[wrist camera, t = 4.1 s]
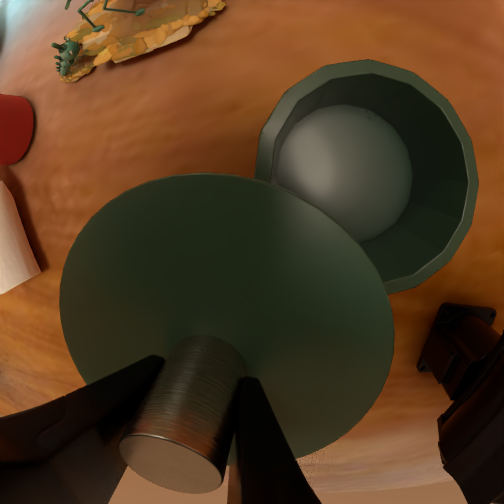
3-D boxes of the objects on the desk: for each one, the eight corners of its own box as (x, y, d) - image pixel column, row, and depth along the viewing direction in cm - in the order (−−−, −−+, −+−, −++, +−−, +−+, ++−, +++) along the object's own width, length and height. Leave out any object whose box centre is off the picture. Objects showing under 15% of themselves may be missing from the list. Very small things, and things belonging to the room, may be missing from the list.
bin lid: (427, 212, 8) (544, 266, 3) (328, 460, 11) (333, 553, 6) (74, 157, 9) (-50, 170, 4) (94, 407, 12) (44, 479, 7)
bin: (425, 118, 17) (485, 101, 10) (401, 261, 20) (448, 307, 13) (278, 85, 18) (272, 41, 10) (257, 238, 21) (240, 277, 13)
